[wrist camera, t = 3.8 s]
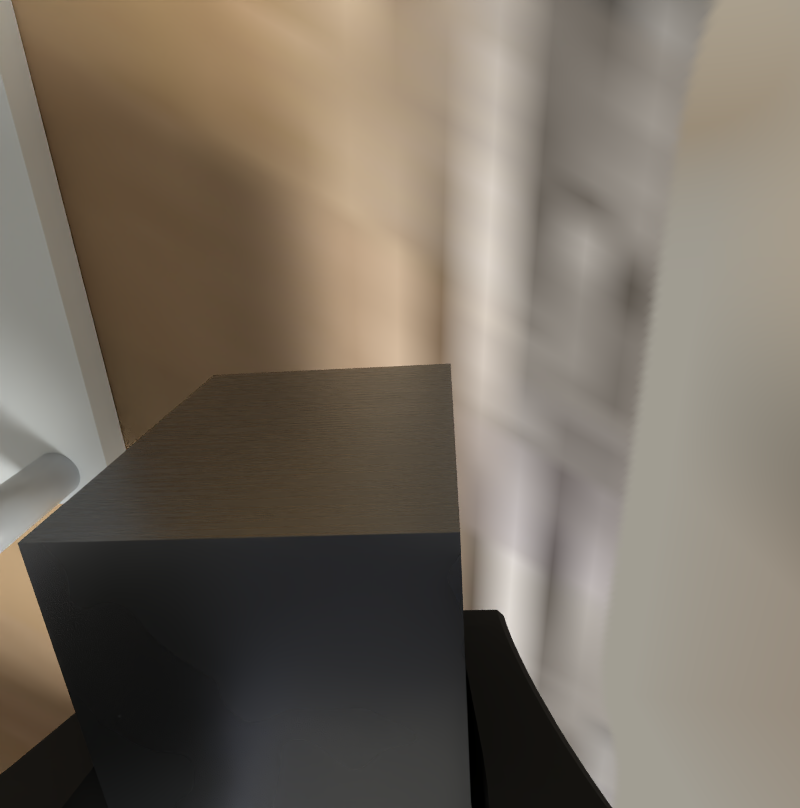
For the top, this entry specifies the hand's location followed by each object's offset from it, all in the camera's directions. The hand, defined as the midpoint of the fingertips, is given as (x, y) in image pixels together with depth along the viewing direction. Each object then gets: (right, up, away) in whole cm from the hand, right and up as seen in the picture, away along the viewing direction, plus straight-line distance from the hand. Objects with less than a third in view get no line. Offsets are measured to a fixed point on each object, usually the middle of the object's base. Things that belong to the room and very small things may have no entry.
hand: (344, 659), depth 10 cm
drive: (0, +1, +1) cm, 2 cm away
